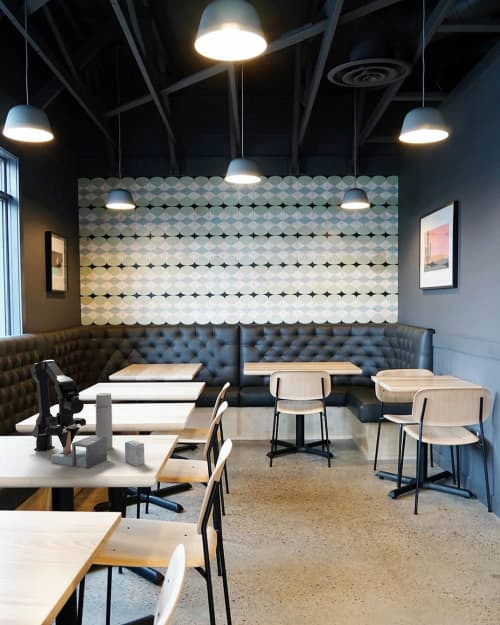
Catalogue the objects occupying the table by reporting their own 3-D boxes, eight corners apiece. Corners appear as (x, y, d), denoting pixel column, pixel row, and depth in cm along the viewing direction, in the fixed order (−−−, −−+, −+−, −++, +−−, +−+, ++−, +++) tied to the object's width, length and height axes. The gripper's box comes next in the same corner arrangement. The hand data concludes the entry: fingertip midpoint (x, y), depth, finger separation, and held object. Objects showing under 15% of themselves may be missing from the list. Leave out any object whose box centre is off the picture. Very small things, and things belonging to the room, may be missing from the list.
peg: (66, 451, 213) (66, 430, 213) (72, 452, 212) (72, 431, 212) (61, 453, 210) (61, 432, 210) (67, 454, 209) (67, 433, 209)
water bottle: (116, 447, 228) (115, 393, 227) (103, 451, 222) (102, 396, 221) (103, 444, 233) (102, 391, 232) (89, 448, 226) (88, 394, 226)
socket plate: (67, 455, 217) (67, 448, 217) (103, 459, 210) (103, 452, 210) (51, 462, 208) (51, 455, 208) (87, 467, 201) (87, 460, 201)
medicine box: (144, 464, 205) (144, 443, 205) (135, 466, 201) (135, 445, 201) (134, 459, 210) (133, 439, 210) (124, 462, 207) (124, 441, 207)
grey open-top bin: (91, 457, 214) (91, 435, 213) (107, 459, 211) (106, 437, 211) (72, 466, 203) (72, 443, 202) (88, 468, 200) (87, 445, 199)
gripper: (66, 404, 222) (67, 438, 223) (34, 413, 205) (35, 450, 205) (86, 405, 218) (87, 440, 219) (56, 415, 201) (56, 453, 201)
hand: (66, 446), depth 211 cm, fingers closed on peg, 3 cm apart
